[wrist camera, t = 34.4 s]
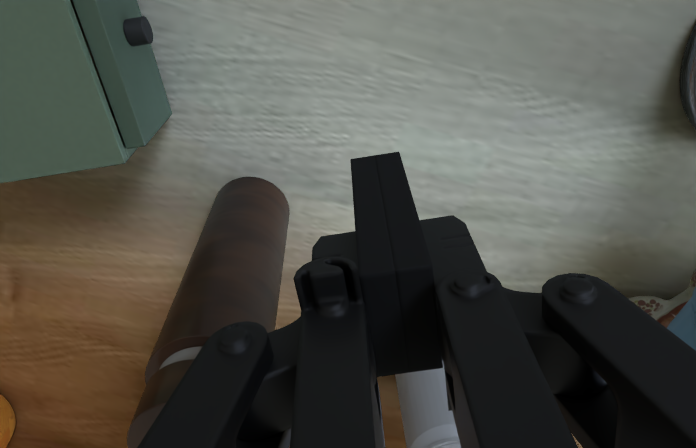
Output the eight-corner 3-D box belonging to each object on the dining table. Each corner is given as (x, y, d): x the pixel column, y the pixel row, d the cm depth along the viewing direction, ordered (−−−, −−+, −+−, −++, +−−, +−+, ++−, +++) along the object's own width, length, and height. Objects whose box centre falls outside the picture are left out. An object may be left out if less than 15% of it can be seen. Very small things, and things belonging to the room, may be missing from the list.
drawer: (131, -83, 34) (90, -86, 28) (188, 111, 39) (164, 143, 33) (-99, -42, 34) (-187, -36, 28) (-9, 143, 40) (-67, 180, 34)
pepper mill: (280, 171, 43) (235, 416, 21) (296, 237, 45) (269, 515, 24) (204, 183, 43) (83, 438, 21) (224, 248, 46) (135, 532, 24)
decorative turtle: (807, 250, 48) (856, 282, 43) (732, 392, 56) (768, 432, 51) (603, 243, 47) (633, 275, 42) (557, 388, 54) (577, 429, 50)
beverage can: (379, 366, 52) (393, 477, 42) (422, 321, 50) (447, 426, 39) (431, 393, 54) (457, 506, 44) (475, 351, 52) (513, 459, 41)
